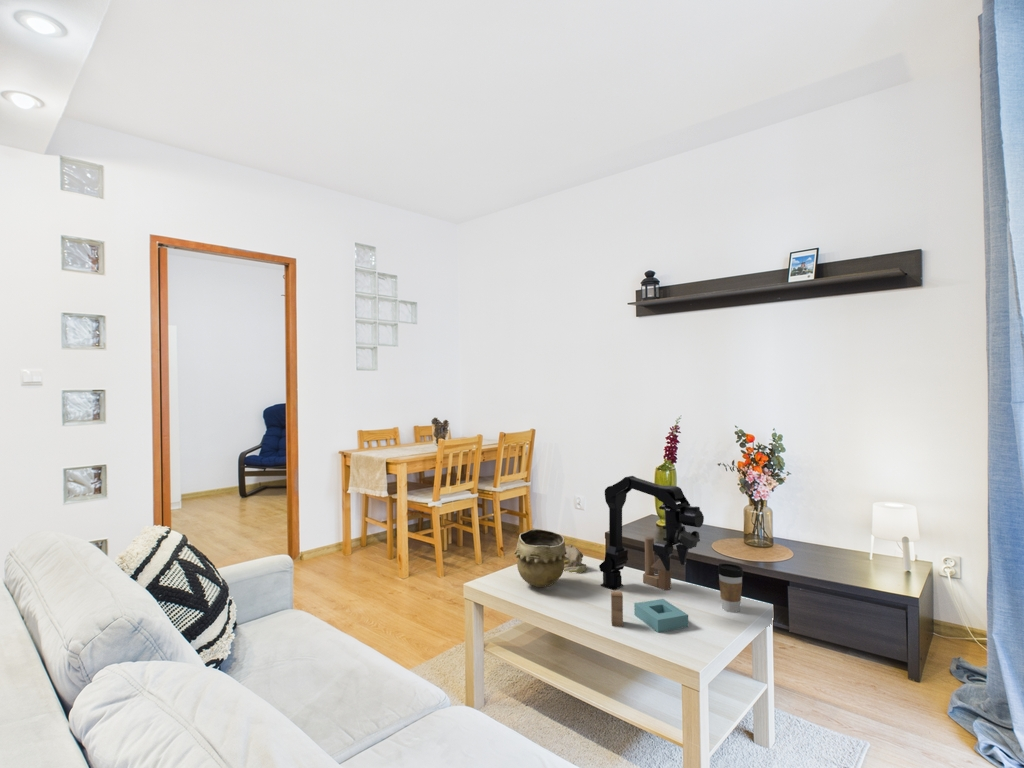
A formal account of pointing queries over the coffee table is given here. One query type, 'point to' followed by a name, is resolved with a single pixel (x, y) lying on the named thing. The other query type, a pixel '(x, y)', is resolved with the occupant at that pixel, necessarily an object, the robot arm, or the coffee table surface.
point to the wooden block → (663, 575)
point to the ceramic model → (573, 560)
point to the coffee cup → (730, 586)
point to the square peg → (617, 608)
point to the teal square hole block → (661, 615)
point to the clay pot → (540, 557)
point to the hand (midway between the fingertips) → (675, 567)
